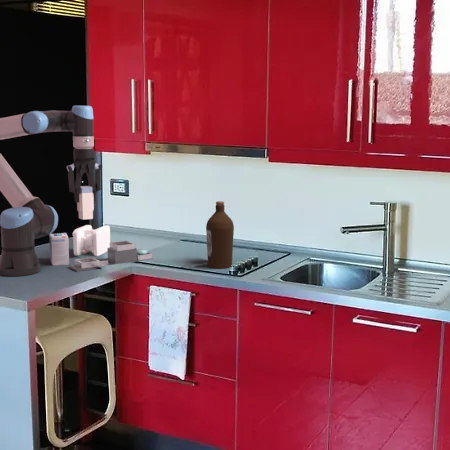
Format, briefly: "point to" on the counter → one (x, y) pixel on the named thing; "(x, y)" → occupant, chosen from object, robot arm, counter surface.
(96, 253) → the cable organizer
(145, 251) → the release button
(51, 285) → the counter surface
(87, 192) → the pink upright block
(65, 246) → the light bulb box
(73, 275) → the counter surface
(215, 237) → the olive oil
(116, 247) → the grey stepped holder
